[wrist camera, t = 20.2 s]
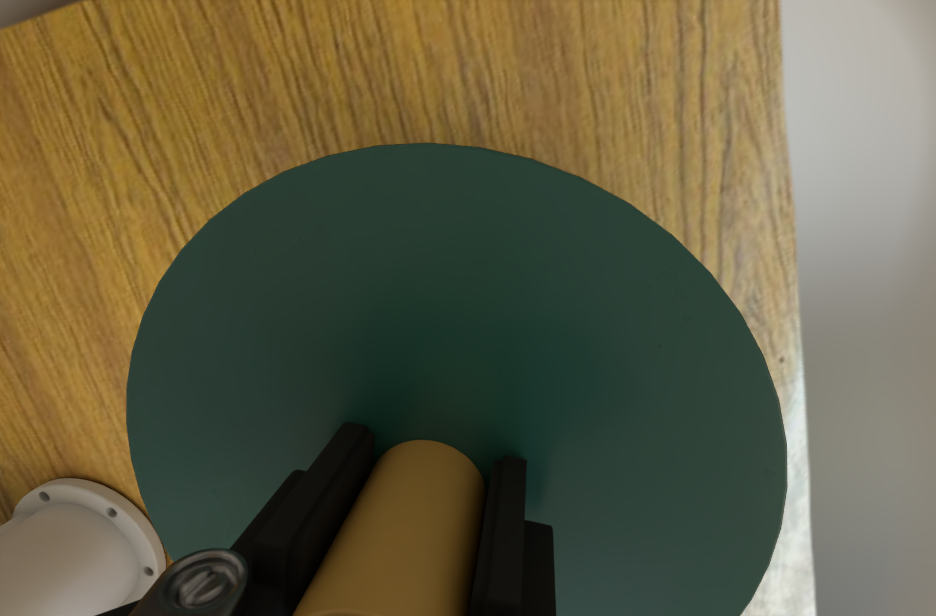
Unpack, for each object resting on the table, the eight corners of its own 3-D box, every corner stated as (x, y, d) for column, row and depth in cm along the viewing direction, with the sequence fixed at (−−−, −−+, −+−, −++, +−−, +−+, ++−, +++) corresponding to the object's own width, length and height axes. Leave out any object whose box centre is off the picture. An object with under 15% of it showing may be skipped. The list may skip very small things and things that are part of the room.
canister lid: (169, 618, 16) (-32, 864, 10) (148, 97, 11) (-240, 27, 6) (663, 745, 14) (742, 1108, 9) (871, 208, 10) (1310, 264, 4)
